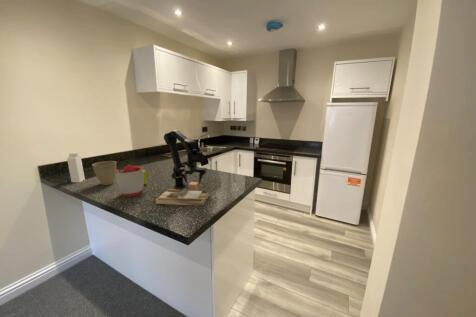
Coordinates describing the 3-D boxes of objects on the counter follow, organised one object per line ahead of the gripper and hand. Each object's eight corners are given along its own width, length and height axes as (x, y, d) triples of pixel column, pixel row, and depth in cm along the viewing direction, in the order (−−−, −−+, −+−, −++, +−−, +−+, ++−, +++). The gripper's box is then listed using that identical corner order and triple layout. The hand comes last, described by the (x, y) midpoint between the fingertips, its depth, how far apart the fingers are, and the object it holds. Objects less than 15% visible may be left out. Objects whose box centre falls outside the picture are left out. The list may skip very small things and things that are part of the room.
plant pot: (112, 179, 157) (109, 160, 153) (123, 182, 150) (120, 162, 146) (91, 185, 144) (87, 164, 140) (102, 188, 137) (98, 166, 133)
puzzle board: (167, 194, 127) (166, 189, 126) (208, 195, 124) (208, 190, 124) (156, 203, 113) (155, 198, 113) (202, 205, 111) (202, 200, 110)
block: (191, 190, 134) (190, 181, 133) (198, 190, 134) (197, 182, 132) (188, 192, 129) (188, 184, 128) (196, 193, 129) (195, 184, 127)
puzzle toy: (142, 180, 153) (141, 168, 151) (147, 183, 146) (145, 171, 144) (128, 183, 147) (126, 171, 144) (132, 187, 140) (131, 173, 137)
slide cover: (185, 192, 124) (184, 186, 123) (202, 192, 123) (201, 187, 122) (178, 199, 113) (178, 193, 112) (196, 200, 112) (196, 194, 111)
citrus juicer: (130, 187, 138) (127, 160, 134) (150, 190, 133) (147, 162, 129) (110, 196, 123) (106, 166, 119) (132, 199, 119) (128, 168, 114)
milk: (77, 180, 155) (71, 153, 150) (85, 179, 155) (80, 152, 151) (71, 182, 149) (65, 154, 144) (79, 182, 149) (74, 154, 145)
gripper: (173, 163, 120) (174, 186, 123) (202, 163, 118) (203, 187, 121) (179, 159, 130) (181, 181, 134) (207, 159, 129) (207, 181, 132)
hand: (193, 183), depth 130 cm, fingers open, 9 cm apart
